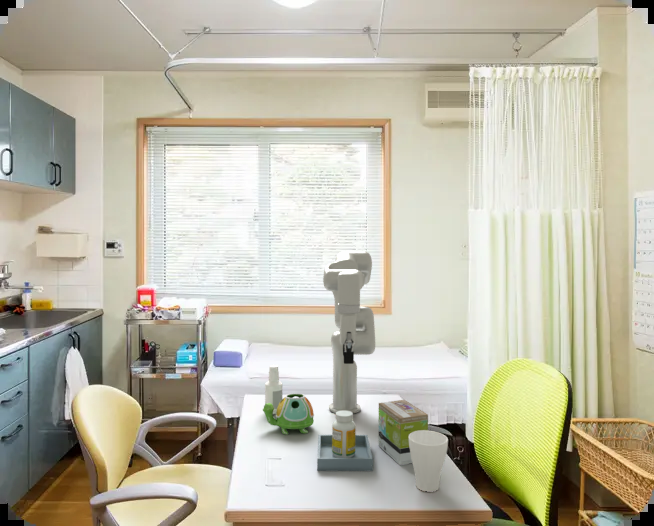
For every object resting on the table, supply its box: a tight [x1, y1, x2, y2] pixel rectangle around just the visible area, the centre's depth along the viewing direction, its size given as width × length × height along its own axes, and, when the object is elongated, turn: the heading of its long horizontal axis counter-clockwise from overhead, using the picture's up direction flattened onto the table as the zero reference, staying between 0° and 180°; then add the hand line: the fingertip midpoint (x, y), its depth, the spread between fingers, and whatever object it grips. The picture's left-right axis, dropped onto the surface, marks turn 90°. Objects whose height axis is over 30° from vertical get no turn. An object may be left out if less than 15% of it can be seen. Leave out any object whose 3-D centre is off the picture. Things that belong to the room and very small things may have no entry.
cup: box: [408, 429, 449, 493], centre depth 131 cm, size 10×10×14 cm
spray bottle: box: [264, 364, 283, 415], centre depth 190 cm, size 7×7×18 cm
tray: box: [316, 434, 374, 472], centre depth 149 cm, size 18×16×4 cm
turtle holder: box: [262, 393, 315, 435], centre depth 172 cm, size 12×18×12 cm
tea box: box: [378, 399, 429, 466], centre depth 152 cm, size 15×10×15 cm
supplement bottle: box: [331, 410, 357, 458], centre depth 149 cm, size 7×7×13 cm
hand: (348, 359), depth 163 cm, fingers open, 9 cm apart
